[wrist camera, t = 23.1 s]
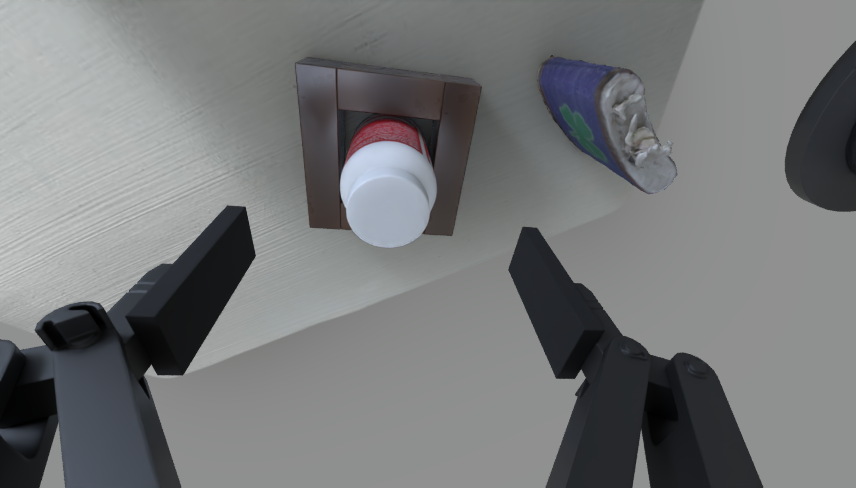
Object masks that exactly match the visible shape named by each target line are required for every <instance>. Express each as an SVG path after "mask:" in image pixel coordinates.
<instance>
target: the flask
mask: <svg viewBox="0 0 856 488" xmlns="http://www.w3.org/2000/svg"><path fill="white" fill-rule="evenodd" d="M537 81H538V83H539V90H540V92H541V94H542V96H543V99H544V103H545V105H547V109H548V110H549V112H550V114H551V115H552V117H553V119H554V121H555V122H557V124H558V125H559V126H560V128H561V129H562V130H563V131H564V133H565V134H566V135H567V136H568V138H569V139H570V140H571V141H572V142H573V143H574V145H576V146H577V147H578V148H579V149H580V150H581V151H582V152H584V153H586V154H588V155H590V156H591V157H592V158H594V159H595V160H597V161H598V162H600V163H602V164H603V165H605V166H606V167H608V168H609V169H610V170H612V171H613V172H615V173H616V174H618V175H619V176H621V177H623V178H624V179H625V180H627V181H628V182H630V183H631V184H632V185H634V186H635V187H637V188H638V189H640V190H641V191H643V192H645V193H647V194H653V193H657V192H660V191H662V190H664V189H666V188H667V187H668V186H669V185H670V184H671V183H672V182H673V180H674V178H675V177H676V176H677V169H676V165H675V163H674V161H673V160H672V159H671V158H670V157H669V156H668V155H669V154H670V153H671V149H672V148H671V146H672V144H673V142H672V141H671V140H669V141H668V142H667V145H665V146H661V144H660V143H659V140H658V138H657V137H656V135H655V133H654V130H653V128H652V125H651V123H650V121H649V118H648V114H647V111H646V107H645V98H644V90H645V89H644V87H643V84H642V81H641V79H640V77H639V76H637V75H636V74H635V73H634V72H632V71H631V70H629V69H624V68H620V67H611V66H606V65H596V64H590V63H587V62H584V61H581V60H580V61H576V60H567V59H564V58H561V57H554V56H553V55H551V57H550V58H549V59H548V60H546V61H545V62H544V63H542V64H541V67H540V68H539V70H538V76H537Z"/></svg>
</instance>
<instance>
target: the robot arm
mask: <svg viewBox="0 0 856 488" xmlns="http://www.w3.org/2000/svg"><path fill="white" fill-rule="evenodd" d="M846 161H847V165H848V167H849V169H850V170H851V171H852V172H853V173H854V174H855V175H856V123H855V124H854V126H853V129H852V131H851V133H850V136H849V139H848V142H847V147H846ZM255 257H256V254H255V250H254V245H253V240H252V235H251V230H250V226H249V221H248V216H247V211H246V207H241V206H226V208H225V209H224V210H223V211H222V212H221V213H220V214H219V215H218V216H217V217H216V218H215V219H214V220H213V222H212V223H211V224H210V225H209V226H208V227H207V228H206V229H205V230H204V231H203V232H202V233H201V234H200V236H199V237H198V238H197V239H196V240H195V241H194V242H193V243H192V244H191V245H190V246H189V247H188V248H187V249H186V251H185V252H184V253H183V254H182V255H181V256H180V257H179V258H178V259H177V260H176V261H175V262H174V263H173V264H161V265H159V266H157V267H156V268H154V269H152V270H150V271H149V272H147V273H146V274H145V275H144V276H143V277H142V278H141V279H140V280H139V281H138V282H137V284H135V285H134V286H133V287H132V288H131V289H130V290H129V293H126V294H125V295H124V296H123V297H122V298H121V299H120V300H119V301H118V302H117V303H116V304H115V305H114V306H113V307H112V308H111V309H110V310H109V311H108V312H107V313H106V311H105V310H104V308H103V307H102V306H101V304H99V303H96V302H78V303H74V304H70V305H67V306H64V307H61V308H59V309H56V310H54V311H53V312H51V313H50V314H48V315H46V316H45V317H44V318H43V319H42V320H40V321H39V322H38V323H37V326H36V328H35V332H36V333H37V334H38V335H39V337H40V338H41V339H42V340H43V342H44V343H45V344H46V345H45V346H40V347H34V348H29V349H23V350H19V349H18V347H17V346H16V345H15V344H14V343H12V342H11V341H9V340H1V339H0V488H39V487H40V483H41V480H42V477H43V473H44V470H45V466H46V463H47V460H48V456H49V453H50V449H51V445H52V442H53V439H54V435H55V432H56V428H57V425H58V422H59V431H60V441H61V451H62V461H63V470H64V480H65V488H181V484H180V481H179V478H178V475H177V472H176V469H175V466H174V463H173V460H172V457H171V454H170V451H169V448H168V445H167V442H166V438H165V435H164V432H163V429H162V426H161V423H160V420H159V417H158V414H157V410H156V407H155V404H154V401H153V398H152V395H151V392H150V389H149V386H148V383H147V380H146V378H145V377H144V374H145V372H146V371H147V370H148V368H149V367H150V365H151V364H152V366H153V368H154V370H155V372H156V373H157V375H184V373H185V371H186V370H187V368H188V366H189V365H190V363H191V362H192V360H193V358H194V357H195V355H196V353H197V352H198V350H199V348H200V347H201V345H202V344H203V342H204V340H205V339H206V337H207V335H208V334H209V332H210V330H211V329H212V327H213V325H214V324H215V322H216V321H217V319H218V317H219V316H220V314H221V312H222V311H223V309H224V307H225V306H226V304H227V302H228V301H229V299H230V298H231V296H232V294H233V293H234V291H235V289H236V288H237V286H238V284H239V283H240V281H241V280H242V278H243V276H244V275H245V273H246V271H247V270H248V268H249V266H250V265H251V263H252V261H253V260H254V258H255ZM509 272H510V274H511V277H512V279H513V281H514V284H515V285H516V288H517V290H518V293H519V295H520V297H521V299H522V302H523V304H524V306H525V309H526V311H527V313H528V315H529V318H530V320H531V322H532V324H533V327H534V329H535V331H536V334H537V336H538V338H539V340H540V343H541V345H542V347H543V349H544V352H545V354H546V356H547V358H548V361H549V363H550V365H551V368H552V370H553V372H554V374H555V377H556V378H557V379H575V378H576V376H577V375H578V373H579V372H580V370H581V369H582V371H583V373H584V375H585V377H586V379H585V380H584V382H583V383H582V385H581V386H580V388H579V389H578V391H577V392H576V394H575V395H576V396H578V397H577V400H576V403H575V406H574V409H573V411H572V414H571V417H570V420H569V423H568V426H567V428H566V432H565V434H564V437H563V440H562V443H561V445H560V448H559V451H558V454H557V457H556V460H555V462H554V465H553V468H552V471H551V474H550V476H549V479H548V482H547V485H546V488H632V486H633V480H634V473H635V466H636V459H637V453H638V446H639V439H640V432H641V429H642V436H643V442H644V449H645V455H646V462H647V468H648V474H649V481H650V487H651V488H763V485H762V483H761V480H760V478H759V476H758V474H757V471H756V469H755V466H754V464H753V461H752V459H751V456H750V454H749V451H748V449H747V447H746V444H745V442H744V440H743V437H742V434H741V432H740V430H739V427H738V425H737V422H736V420H735V418H734V415H733V413H732V410H731V408H730V405H729V403H728V401H727V398H726V396H725V393H724V391H723V388H722V386H721V384H720V381H719V379H718V376H717V375H716V373H715V372H714V370H713V369H712V368H711V367H710V366H709V365H708V364H707V363H705V362H704V361H702V360H701V359H699V358H698V357H695V356H693V355H691V354H687V353H677V354H676V355H675V356H674V357H673V358H672V359H671V360H667V359H664V358H660V357H656V356H653V355H650V354H649V353H648V351H647V350H646V349H645V348H644V347H643V346H642V345H641V344H640V343H638V342H637V341H635V340H633V339H631V338H629V337H626V336H623V335H622V334H621V333H620V331H619V330H618V328H617V327H616V326H615V324H614V323H613V321H612V320H611V318H610V317H609V316H608V314H607V313H606V311H605V310H603V307H602V306H601V304H600V303H598V300H597V299H596V297H595V296H594V295H593V293H592V292H591V291H590V290H589V289H587V288H586V287H585V286H584V285H583V284H581V283H573V281H572V280H571V278H570V277H569V275H568V274H567V272H566V271H565V269H564V268H563V266H562V265H561V263H560V262H559V260H558V259H557V257H556V256H555V254H554V253H553V251H552V250H551V248H550V247H549V245H548V244H547V242H546V241H545V239H544V238H543V236H542V235H541V233H540V232H539V230H538V229H537V228H532V227H522V230H521V233H520V236H519V239H518V242H517V245H516V248H515V251H514V255H513V257H512V260H511V263H510V266H509Z"/></svg>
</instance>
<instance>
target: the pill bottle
mask: <svg viewBox="0 0 856 488" xmlns="http://www.w3.org/2000/svg"><path fill="white" fill-rule="evenodd" d="M340 194H341V198H342V201H343V204H344V206H345V208H346V215H347V220H348V223H349V225H350V227H351V229H352V230H353V232H354V233H355V234H356V235H357V236H358V237H359V238H361V239H362V240H363V241H365V242H367V243H369V244H371V245H374V246H377V247H383V248H394V247H400V246H403V245H406V244H408V243H410V242H412V241H414V240H415V239H417V238H418V237H419V236H420V235H421V234H422V233H423V231H424V230H425V228H426V226H427V224H428V221H429V216H430V211H431V209H432V207H433V205H434V202H435V199H436V194H437V183H436V177H435V173H434V170H433V167H432V163H431V159H430V156H429V152H428V148H427V144H426V141H425V138H424V136H423V134H422V132H421V130H420V129H419V128H418V126H417V125H416V124H415V123H414V122H413V121H412V120H410V119H409V118H407V117H403V116H393V115H384V114H374V115H372V116H370V117H368V118H367V119H365V120H364V121H363V122H362V123H361V124H360V125H359V126H358V128H357V129H356V131H355V133H354V135H353V138H352V141H351V144H350V147H349V151H348V154H347V157H346V161H345V164H344V167H343V170H342V173H341V179H340Z"/></svg>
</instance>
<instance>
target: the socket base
mask: <svg viewBox="0 0 856 488" xmlns="http://www.w3.org/2000/svg"><path fill="white" fill-rule="evenodd" d="M295 69H296V81H297V92H298V103H299V114H300V125H301V136H302V147H303V158H304V169H305V180H306V191H307V203H308V214H309V225H310V228H326V229H345V230H352V229H351V227H350V225H349V223H348V220H347V215H346V208H345V206H344V204H343V201H342V198H341V194H340V179H341V173H342V170H343V167H344V164H345V139H344V110H348V111H357V112H366V113H375V114H384V115H393V116H403V117H412V118H421V119H430V120H434V121H433V128H432V136H431V144H430V151H429V156H430V159H431V163H432V167H433V170H434V173H435V177H436V183H437V194H436V199H435V202H434V205H433V207H432V209H431V211H430V216H429V221H428V224H427V226H426V228H425V230H424V231H423V233H422V234H429V235H446V236H452V235H453V230H454V225H455V220H456V215H457V209H458V204H459V199H460V194H461V189H462V184H463V179H464V174H465V169H466V164H467V159H468V154H469V149H470V144H471V139H472V134H473V129H474V124H475V119H476V114H477V108H478V103H479V98H480V93H481V88H482V86H480V85H479V84H478V83H476V82H475V81H474V80H472V79H470V78H463V77H455V76H447V75H439V74H432V73H424V72H416V71H409V70H401V69H393V68H386V67H378V66H370V65H362V64H355V63H347V62H340V61H332V60H324V59H316V58H309V57H307V58H305V59H303V60H300V61H298V62H296V63H295Z"/></svg>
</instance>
